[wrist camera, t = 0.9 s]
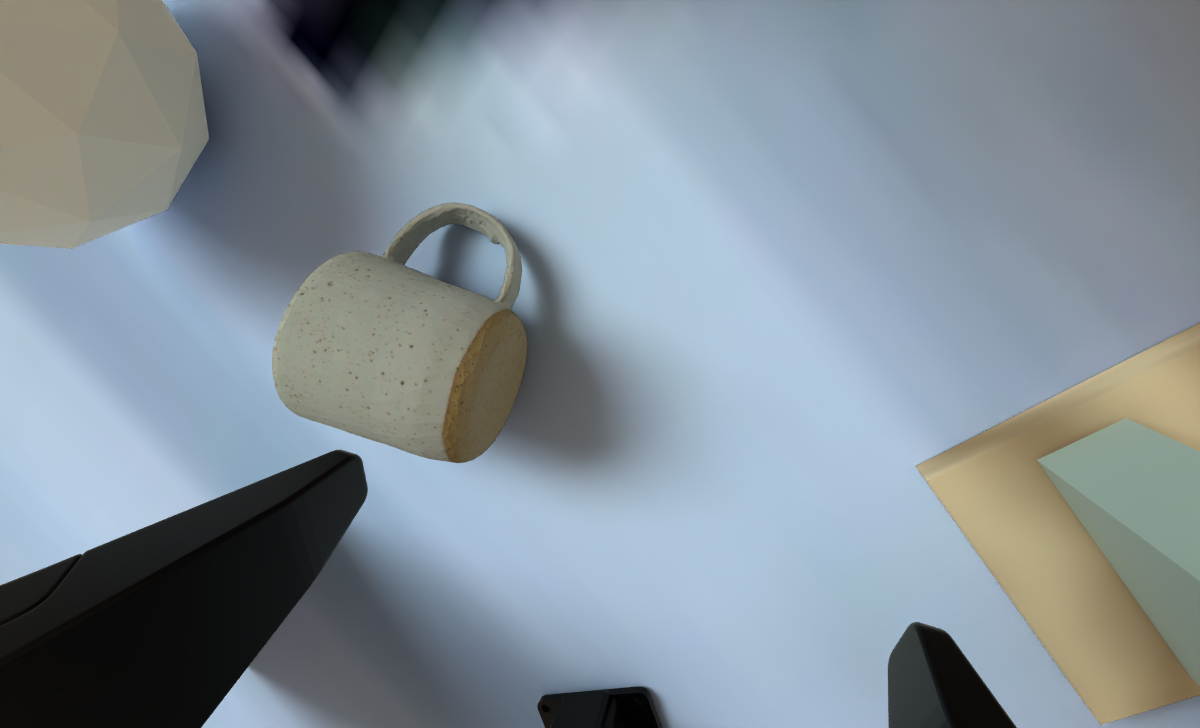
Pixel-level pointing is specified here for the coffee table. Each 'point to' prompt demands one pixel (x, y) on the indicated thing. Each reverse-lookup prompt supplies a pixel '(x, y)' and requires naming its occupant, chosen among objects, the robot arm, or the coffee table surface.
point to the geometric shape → (93, 117)
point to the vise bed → (1075, 527)
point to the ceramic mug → (405, 346)
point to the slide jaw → (1142, 521)
